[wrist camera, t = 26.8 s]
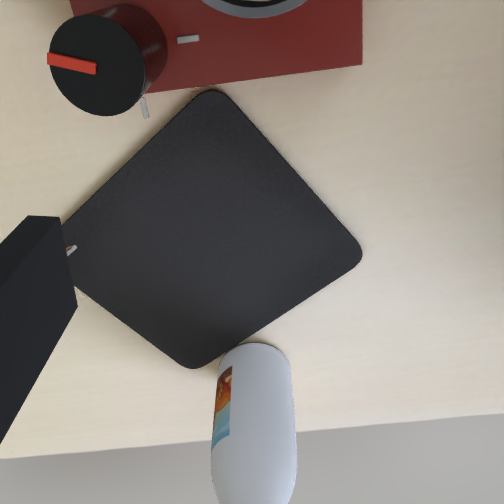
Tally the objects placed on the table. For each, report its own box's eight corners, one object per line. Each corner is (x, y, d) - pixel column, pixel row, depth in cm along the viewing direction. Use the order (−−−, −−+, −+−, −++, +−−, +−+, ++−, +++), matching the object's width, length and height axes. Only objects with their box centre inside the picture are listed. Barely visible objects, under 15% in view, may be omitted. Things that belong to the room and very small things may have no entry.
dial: (172, 14, 29) (148, 28, 23) (163, 94, 31) (140, 126, 25) (91, -6, 28) (44, 3, 22) (89, 78, 31) (46, 106, 25)
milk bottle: (251, 328, 47) (248, 537, 30) (305, 365, 49) (330, 575, 32) (204, 368, 50) (176, 577, 33) (257, 400, 52) (256, 609, 35)
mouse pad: (213, 78, 34) (213, 79, 33) (369, 255, 41) (370, 257, 41) (33, 252, 42) (32, 254, 41) (192, 372, 50) (192, 374, 49)
